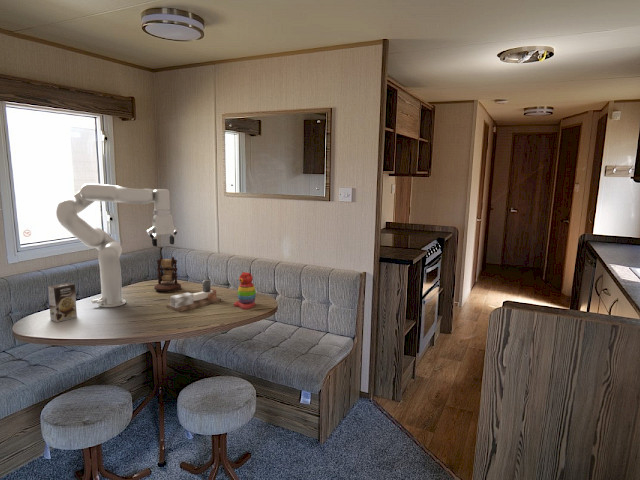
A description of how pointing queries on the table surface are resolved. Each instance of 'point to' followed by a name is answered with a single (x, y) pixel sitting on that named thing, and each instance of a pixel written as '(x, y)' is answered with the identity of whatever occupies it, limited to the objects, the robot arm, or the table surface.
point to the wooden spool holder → (167, 275)
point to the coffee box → (62, 302)
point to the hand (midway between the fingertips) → (163, 245)
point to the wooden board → (190, 301)
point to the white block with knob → (205, 291)
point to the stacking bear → (246, 292)
